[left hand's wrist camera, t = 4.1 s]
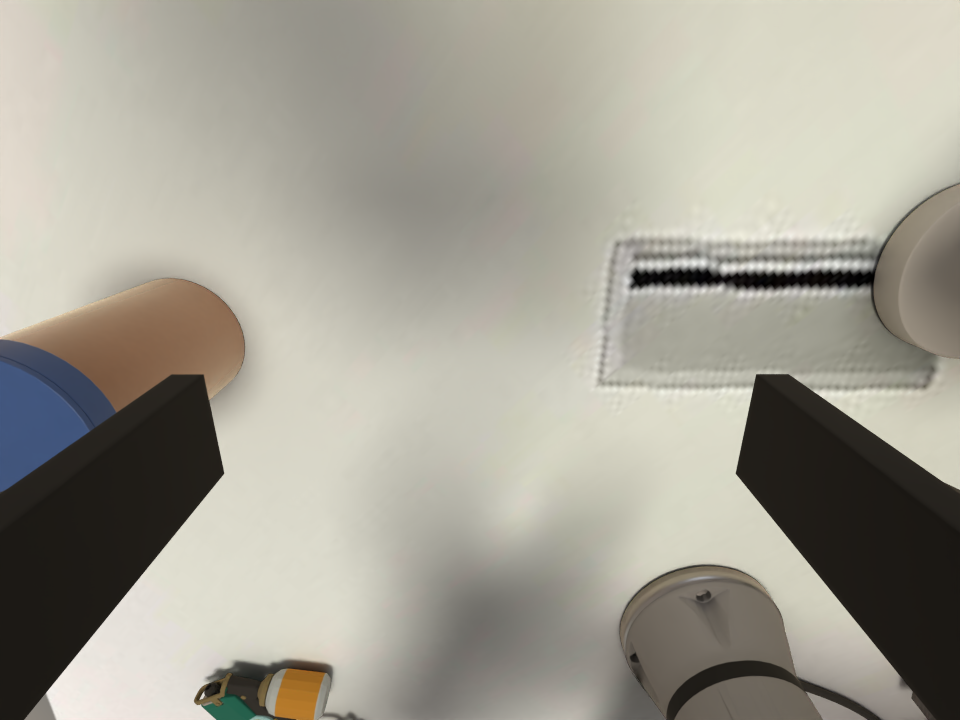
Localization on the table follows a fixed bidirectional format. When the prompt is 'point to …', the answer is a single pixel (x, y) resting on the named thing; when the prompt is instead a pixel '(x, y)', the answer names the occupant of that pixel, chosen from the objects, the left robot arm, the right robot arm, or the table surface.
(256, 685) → the spray gun
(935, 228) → the bust sculpture
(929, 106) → the table surface
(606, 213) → the table surface
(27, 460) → the lid
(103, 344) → the jar
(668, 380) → the table surface
